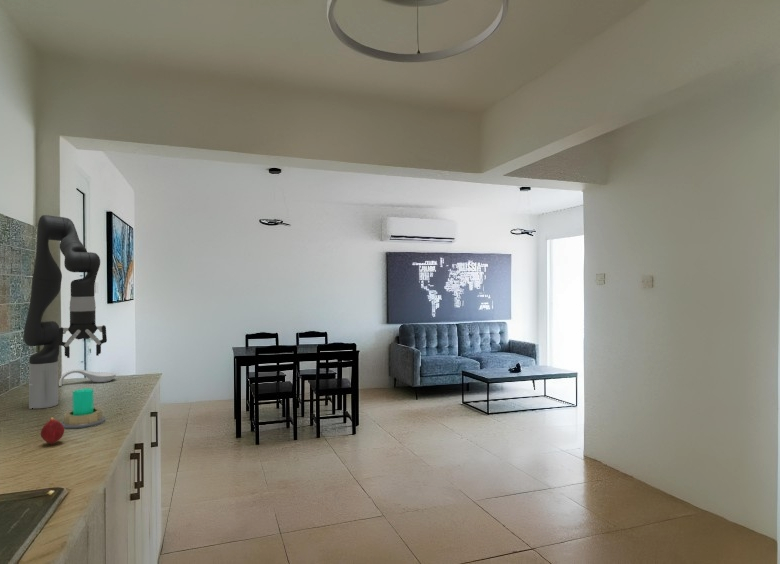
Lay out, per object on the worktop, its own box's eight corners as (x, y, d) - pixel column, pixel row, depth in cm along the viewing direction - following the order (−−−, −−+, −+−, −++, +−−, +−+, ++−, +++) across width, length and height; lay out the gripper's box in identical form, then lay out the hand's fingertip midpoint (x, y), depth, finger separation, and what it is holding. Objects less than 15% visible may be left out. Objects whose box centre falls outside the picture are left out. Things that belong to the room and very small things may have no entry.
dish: (60, 431, 160) (60, 428, 160) (61, 421, 171) (61, 418, 171) (106, 424, 167) (106, 422, 167) (104, 416, 178) (104, 413, 178)
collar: (64, 427, 162) (63, 418, 162) (64, 419, 171) (64, 410, 171) (102, 421, 168) (102, 413, 168) (101, 414, 177) (101, 406, 177)
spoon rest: (114, 378, 247) (114, 364, 247) (117, 382, 238) (117, 367, 238) (58, 384, 233) (58, 369, 233) (59, 389, 224) (59, 373, 224)
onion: (68, 441, 150) (68, 415, 150) (50, 448, 144) (50, 421, 144) (55, 440, 152) (55, 414, 152) (36, 446, 146) (36, 419, 146)
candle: (78, 423, 165) (77, 388, 165) (69, 421, 168) (69, 386, 168) (96, 419, 170) (96, 385, 170) (88, 417, 173) (87, 383, 173)
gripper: (106, 308, 176) (106, 353, 176) (58, 309, 168) (58, 356, 168) (107, 309, 170) (107, 356, 170) (57, 311, 162) (57, 359, 162)
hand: (83, 356), depth 169 cm, fingers open, 8 cm apart
